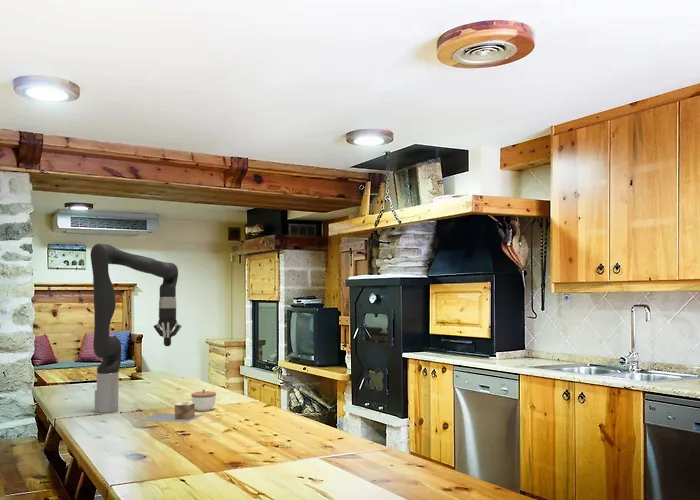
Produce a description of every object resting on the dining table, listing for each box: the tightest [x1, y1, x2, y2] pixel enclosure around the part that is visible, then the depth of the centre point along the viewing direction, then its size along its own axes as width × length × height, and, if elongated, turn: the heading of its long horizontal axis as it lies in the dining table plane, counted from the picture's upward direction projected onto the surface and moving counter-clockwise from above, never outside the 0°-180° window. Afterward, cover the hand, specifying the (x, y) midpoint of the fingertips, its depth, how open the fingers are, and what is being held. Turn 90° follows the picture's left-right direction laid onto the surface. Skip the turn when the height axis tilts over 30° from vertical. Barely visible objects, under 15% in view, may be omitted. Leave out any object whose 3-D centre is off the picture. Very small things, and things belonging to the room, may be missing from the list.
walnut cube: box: [174, 401, 196, 420], centre depth 274 cm, size 6×6×6 cm
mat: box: [137, 413, 203, 423], centre depth 275 cm, size 22×16×1 cm
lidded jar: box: [190, 388, 217, 412], centre depth 293 cm, size 11×11×9 cm
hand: (167, 346), depth 292 cm, fingers closed
